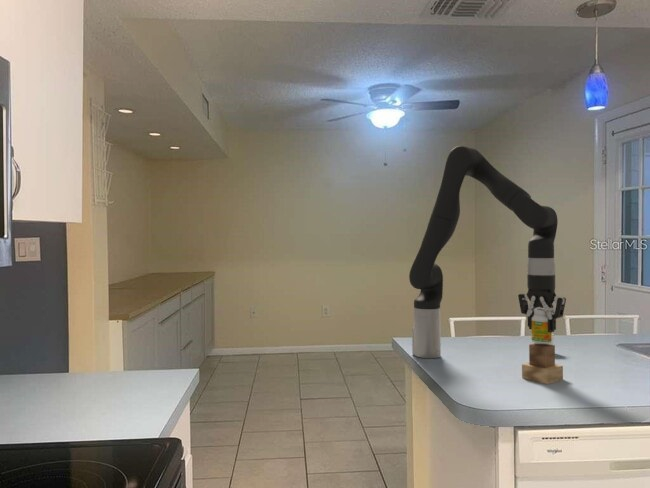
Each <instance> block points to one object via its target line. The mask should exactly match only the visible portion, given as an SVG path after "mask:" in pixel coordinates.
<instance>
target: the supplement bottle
mask: <svg viewBox="0 0 650 488" xmlns="http://www.w3.org/2000/svg"><path fill="white" fill-rule="evenodd" d="M534 314H535V315H534V316H533V317H532V321H531V322H532V323H531V325H532V329H531V341H532V343H534V342H535V343H540V344H549V343H551V340H552V334H553V332H548V319H549V318H548V315H547V313H546V312H545V310H544V308H541V307H538V308H536V309H534ZM551 333H552V334H551Z"/></svg>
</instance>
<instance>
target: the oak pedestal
mask: <svg viewBox="0 0 650 488" xmlns="http://www.w3.org/2000/svg"><path fill="white" fill-rule="evenodd" d="M563 367H564V365H560V364H556V363H555V366H552V367H548V368H542V367H537V366H533V365H529V362H527V363H522V364H521V377H522V379H526V380H529V381H532V382H533V381H534V382H537V383H541V384H544V385H550V384H553V383H556V382H560V381H562V380H564V368H563Z"/></svg>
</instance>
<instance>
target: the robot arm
mask: <svg viewBox="0 0 650 488" xmlns="http://www.w3.org/2000/svg"><path fill="white" fill-rule="evenodd" d="M444 165H445V166H444V171H443V175H442V179H441V184H440V187H439V190H438V193H437V196H436V200H435V203H434V206H433V208H432V211H431V214H430V217H429V220H428V223H427V227H426V229H425V233H424V236H423V239H422V241H421V245H420V248H419V249H418V251H417V254H416V256H415V259H414V260H413V263H412V266H411V268H410V271H409V275H408V277H409V278H408V279H409V283H410V285H411V287H413V288H415V289H416V290H420V291H419V292H420V293H419V294H418V296H417V297H416V298H415V299H414V301H413V317H414V318H413V327H412V329H411V333H412V334H411V335H412V336H411V339H412V340H411V341H412V343H411V345H412V346H411V347H412V349H411V350H412V355H414V356H415V357H416V358H417V357H418V358H422V359H437V358H440V357H441V355H442V354H441V353H442V352H441V351H442V350H441V349H442V348H441V345H442V343H441V338H442V337H441V335H442V334H441V302H442V300H443V294H444V293H443V290H444V274H443V271H442V269H441V268H442V267H440V265H438V264H437V263H436V260H437V257H438V255H440V254H439V253H440V252H441V251H442V250H443V248H444V247H445V246H446V245H447V243H448V242H449V241H450V240H451V238H452V237H453V235H454V233H455V230H456V227H457V225H458V222H459V219H460V214H461V206H460V205H461V203H460V201H461V200H460V195H461V194H460V192H461V189H462V186H463V182H464V179H465V177H467V176H468V177H470V178H472V179H474V180H477V181H478V182H480V183H481V184H483V185H484V187H486V188H487V189H488V191H489V192H490V193H491V194H492V195H493V197H494V198H496V200H497V201H498V202H500V203H501V204H502V205H504V206H505V207H506V208H507V209H508V210H510V211H512V212H513V213H514V215H515V216H516V217H517V218H518V219H519V220H520V221H521V222H522V223H523V224H524V225H525V226H527V227H529V228H530V229H533V234H532V237H531V239H529V241H528V244H527V264H526V268H527V270H526V272H527V275H526V279H527V281H526V282H527V283H526V284H527V285H526V287H527V289H528V290H527V293H519V294H518V295H517V296H518V303H519V307H520V313H521V314H524V315H526V316H527V327H528V328H529V330H532V325H531V323H532V322H531V321H532V317H533V316H535V314H534V309H536V308H542V309H544V310H545V312H546V313H547V315H548V318H549V319H548V332H552V333H554V332H555V331H556V329H557V319H561V318H562V317H564V312H565V307H566V302H567V299H566V297H563V296H561V297H560V296H557V294H556V292H555V291H556V263H555V239H556V235H557V229H558V214H557V213H556V211H555V210H554V208H552V207H550V206H547V205H541V204H539V203H537V201H535V200H533V199H532V197H531V195H530V194H529V193H528V192H527V191H526V190H524V189H523V188H522V187H521V186H519V185H518V184H517V183H515V182H514V181H512V180H510V179H509V178H508V177H506V176H505V175H504V174H502V173H501V172H500V171H499V170H498V169H496V168H495V166H493V165H492V164H491V162H489V161H488V160H487V159H486V157H485V156H484V155H483V154H482V153H481V152H479V150H477V149H475V148H473V147H469V146H464V145H458V146H455V147H454V148H452V149H451V150H450V152H449V154H448V155H447V158H446V162H445V164H444ZM528 300H529V302H528ZM554 303H555V304H556V305H555V306H554Z"/></svg>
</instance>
